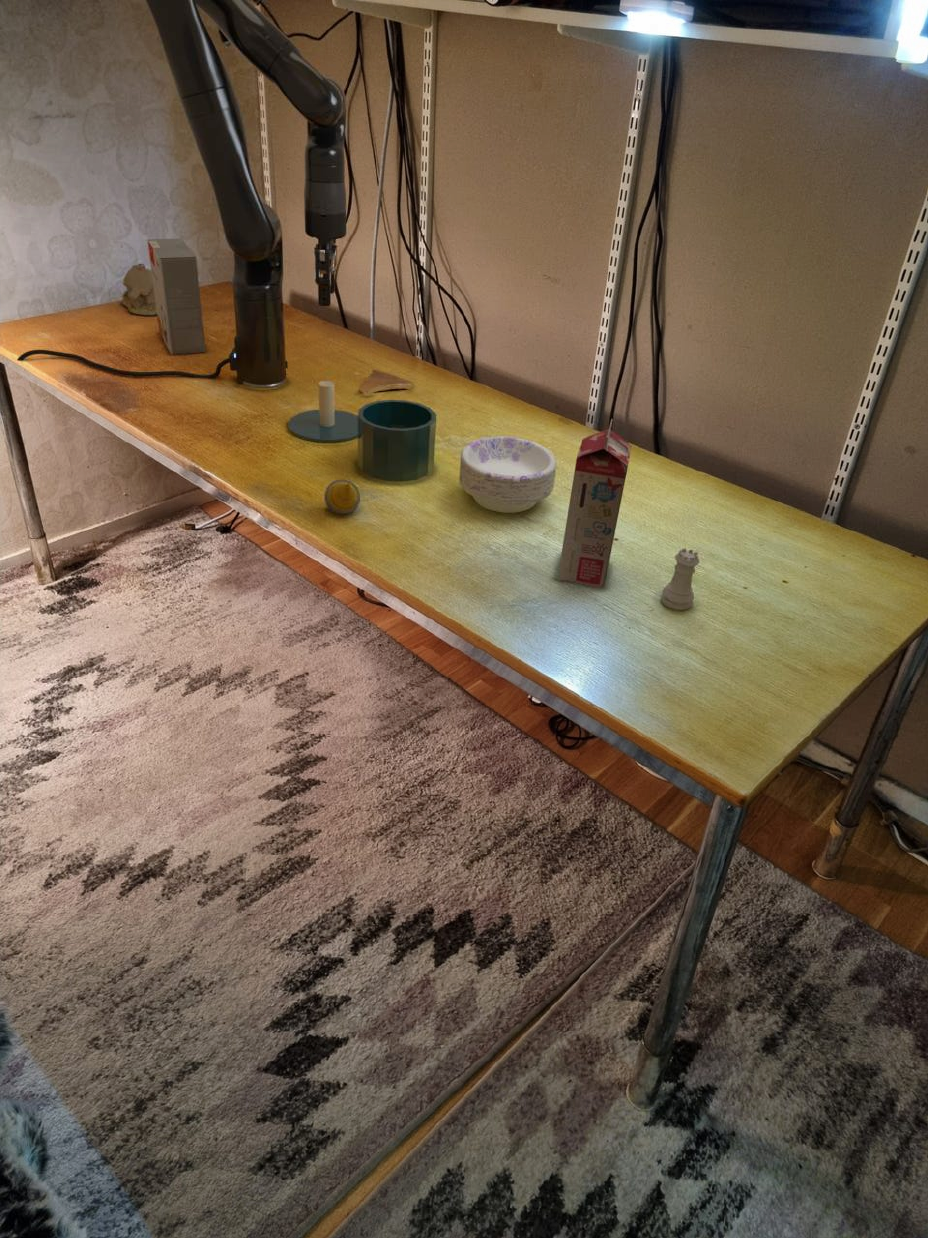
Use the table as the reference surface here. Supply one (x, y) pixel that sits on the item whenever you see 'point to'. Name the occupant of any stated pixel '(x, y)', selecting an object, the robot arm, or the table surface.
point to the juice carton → (594, 508)
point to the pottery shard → (383, 382)
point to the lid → (325, 420)
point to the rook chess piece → (681, 582)
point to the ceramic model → (139, 291)
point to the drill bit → (342, 497)
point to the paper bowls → (507, 473)
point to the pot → (396, 440)
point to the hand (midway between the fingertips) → (326, 299)
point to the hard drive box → (177, 295)
